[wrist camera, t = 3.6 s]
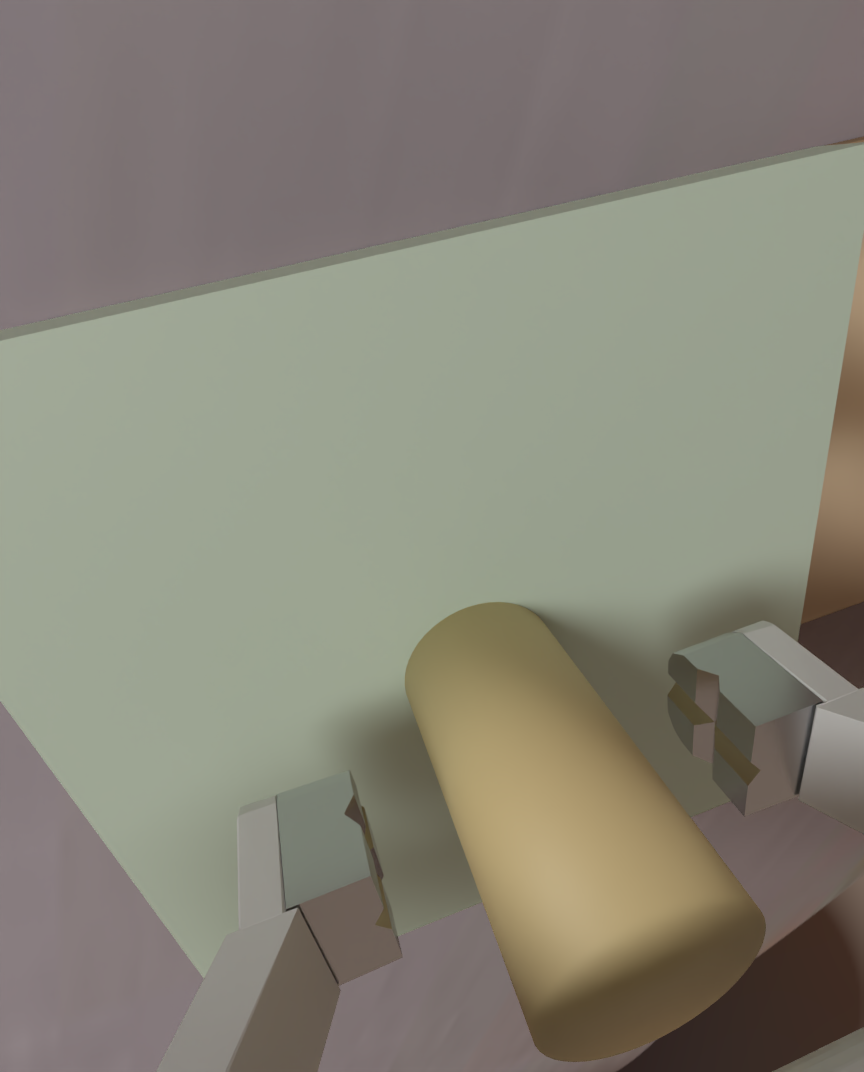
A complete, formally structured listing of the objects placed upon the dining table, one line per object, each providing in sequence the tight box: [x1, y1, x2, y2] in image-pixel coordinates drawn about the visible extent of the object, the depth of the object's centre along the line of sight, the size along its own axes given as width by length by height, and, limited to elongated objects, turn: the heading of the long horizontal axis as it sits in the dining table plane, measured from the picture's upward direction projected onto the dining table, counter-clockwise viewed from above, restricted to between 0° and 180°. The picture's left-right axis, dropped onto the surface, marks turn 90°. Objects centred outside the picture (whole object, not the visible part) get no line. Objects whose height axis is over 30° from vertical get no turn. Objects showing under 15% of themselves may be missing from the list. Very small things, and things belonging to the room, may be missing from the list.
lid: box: [0, 142, 864, 1062], centre depth 9 cm, size 13×13×6 cm
